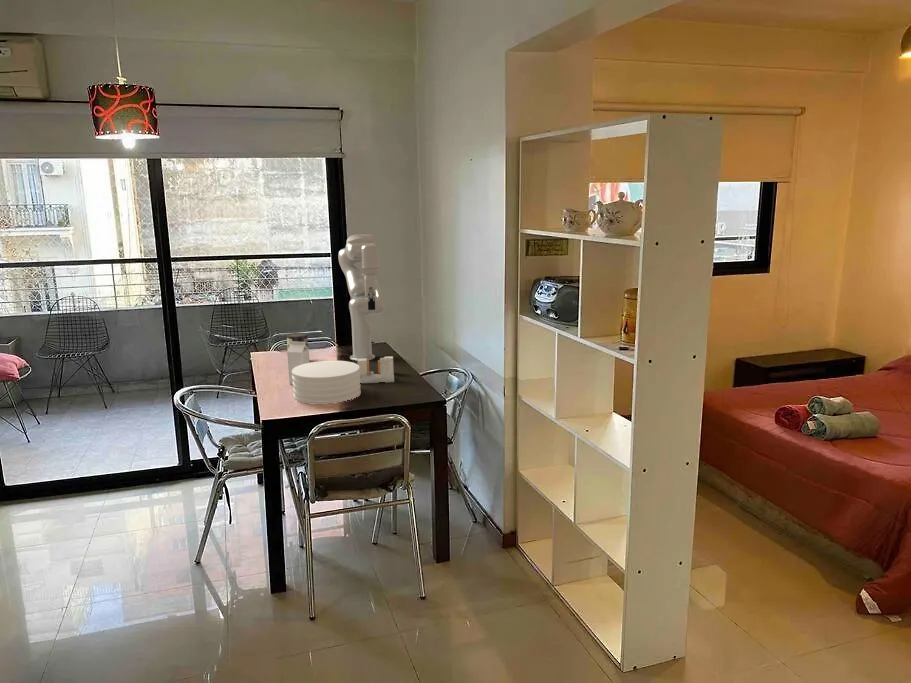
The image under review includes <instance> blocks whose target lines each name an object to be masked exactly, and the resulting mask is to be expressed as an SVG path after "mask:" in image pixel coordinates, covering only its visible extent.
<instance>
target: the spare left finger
mask: <svg viewBox="0 0 911 683" xmlns="http://www.w3.org/2000/svg"><path fill="white" fill-rule="evenodd" d="M383 358H389V374H392V373H394V372H395V371H394V356H384V357H383Z"/></svg>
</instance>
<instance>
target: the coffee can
mask: <svg viewBox="0 0 911 683" xmlns="http://www.w3.org/2000/svg"><path fill="white" fill-rule="evenodd" d="M290 341H295V342H305V344H306V346H307V347H308V348H309V342H308V341H309V340H308V333H306V332H292V333H287V334H286V343H287V344H286V345H287V346H286V347H287V350H288V349H289V346H290Z"/></svg>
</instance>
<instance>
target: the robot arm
mask: <svg viewBox="0 0 911 683" xmlns="http://www.w3.org/2000/svg"><path fill="white" fill-rule="evenodd" d="M376 243H377V242H376V238H375V236H374V235H373V234H370V233H369V234H368V233H366V234H364V233H363V234H352V235H349V236H348V238H347V239H346V244H345V247H344V248H341V249H340V250H339V251H338V255H337V256H338V257H337V258H338V263H339V266H340V268H341V271H342V272H343V274H344V276H345V279H346V285H347V289H348V293H349V296H350V297H351V299H350V300H349V302H348V309H349V313H350V320H351V322H350V323H351V336H352V337H351V338H352V339H351V340H352V355H350V356H349V359H350V360H352V361H354V360H355V361H354V362H358V361H357V360H358V359H363V358H367V361H372V360H374V359H375V358H376V355H375V354H374V353H372V351H373V350H372V349H373V348H372V328H371V327H372V325H371V323H370V321H369V320H368V319H367V318H366V317H369V316H379V315H382V314H383V313H384V311H385V304H384V299H383V293H382V289H381V286H380V284H379V282H378V280H377V276H378V275H379V271H380V270H379V247H378V245H377V244H376ZM355 264H357V265H360V264H361V270H360V269H359V268H358V267H357V266H355ZM363 277H364V278H363Z"/></svg>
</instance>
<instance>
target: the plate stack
mask: <svg viewBox="0 0 911 683" xmlns="http://www.w3.org/2000/svg"><path fill="white" fill-rule="evenodd" d="M359 371H360V366H359V365H358V363H356V362H353V361H349V360H347V361H346V360H319V361H313V362H312V361H310V363H306V364H302V365H299V366H297V367H295V368H293V369H292V375H293V376H292V380H293V385H292V391H293V392H292V393H293V395H292V396H293V399H294V400H295V401H296V400H297V401H296V402H298V401H299V402H298V403H301V402H303V403H302V404H306V403H312V404H311V405H316V404H323V405H327V404H326V403H334V402H342V401H346V402H348V401H347V400H350V401H352V400H355V399H356V397H357V398H358V397H360V395H361V393H362V391H361V390H362V389H361V384H360V372H359ZM354 398H355V399H354ZM351 399H352V400H351ZM313 403H314V404H313ZM342 403H343V402H342Z"/></svg>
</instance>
